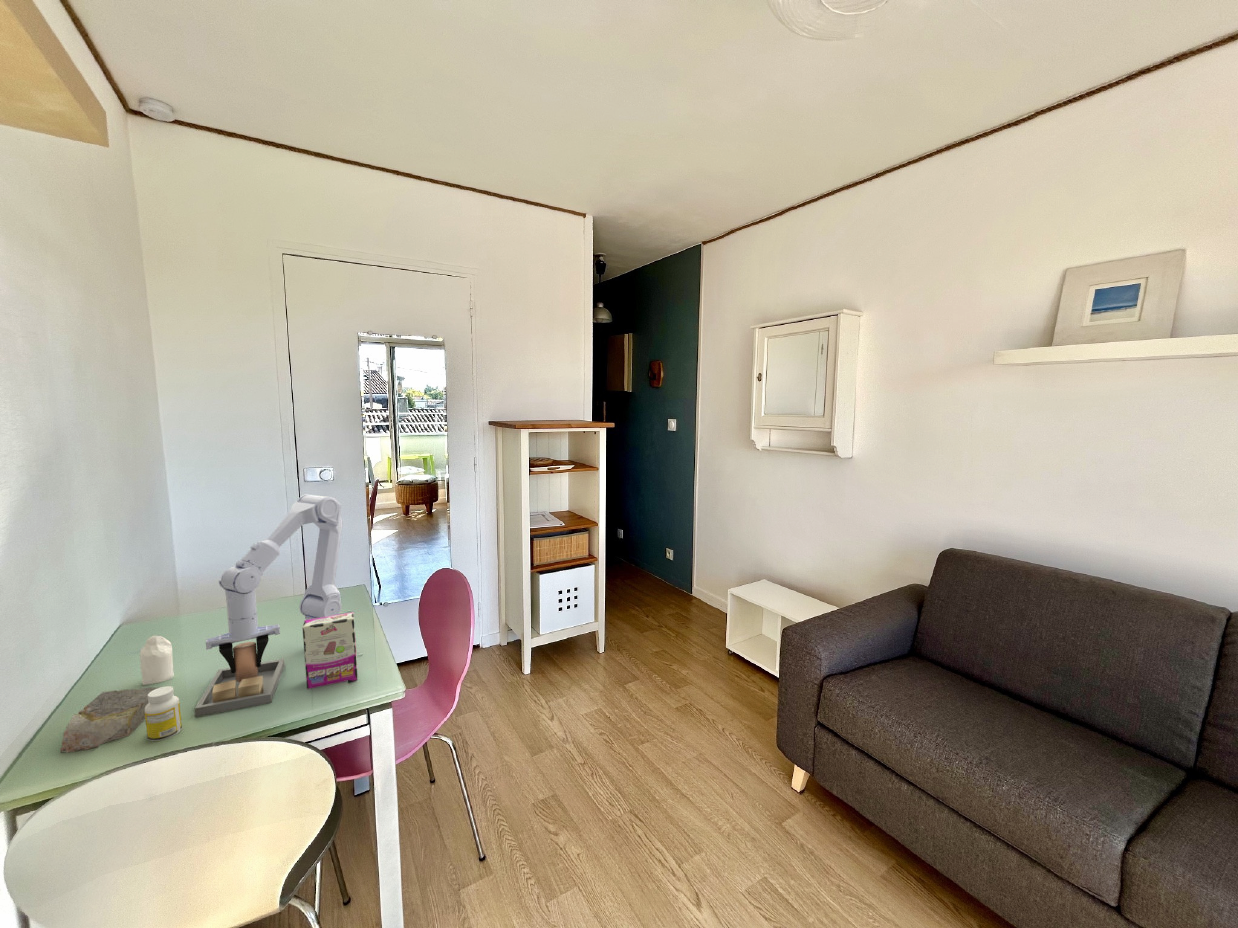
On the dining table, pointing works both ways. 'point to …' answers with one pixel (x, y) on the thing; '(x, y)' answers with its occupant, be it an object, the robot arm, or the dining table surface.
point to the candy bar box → (330, 650)
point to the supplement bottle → (162, 714)
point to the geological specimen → (106, 719)
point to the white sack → (156, 660)
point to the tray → (270, 682)
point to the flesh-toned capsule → (245, 661)
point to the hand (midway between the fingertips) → (246, 668)
